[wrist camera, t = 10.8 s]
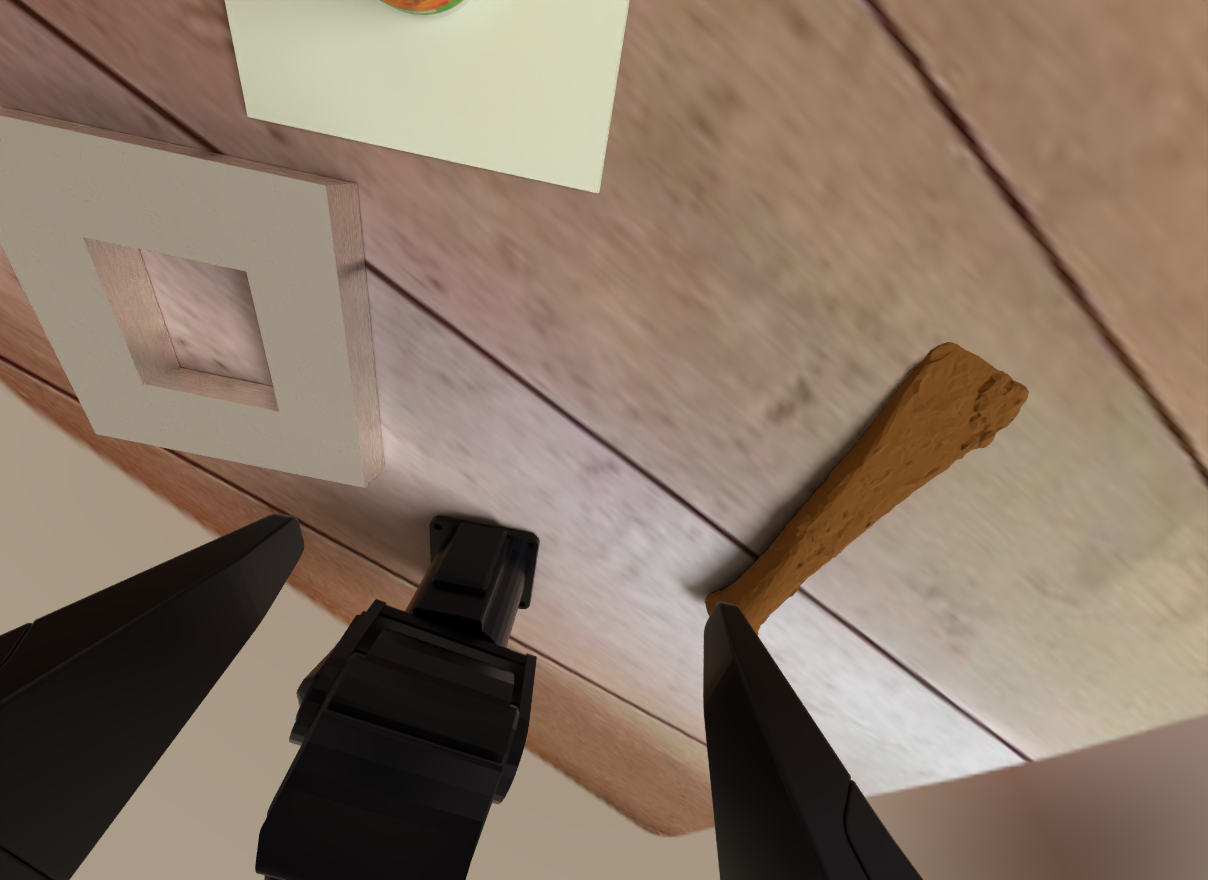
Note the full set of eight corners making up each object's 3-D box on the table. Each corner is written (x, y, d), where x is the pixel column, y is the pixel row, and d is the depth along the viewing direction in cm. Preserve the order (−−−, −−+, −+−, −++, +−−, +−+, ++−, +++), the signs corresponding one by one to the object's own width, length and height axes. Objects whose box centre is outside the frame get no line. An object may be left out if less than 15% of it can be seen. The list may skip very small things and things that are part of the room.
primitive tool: (939, 332, 19) (992, 363, 16) (1032, 388, 20) (1099, 427, 17) (695, 590, 29) (700, 639, 26) (766, 619, 30) (779, 670, 27)
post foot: (384, 466, 25) (365, 488, 23) (133, 415, 25) (96, 433, 23) (356, 183, 18) (325, 185, 16) (-2, 105, 17) (-72, 100, 16)
